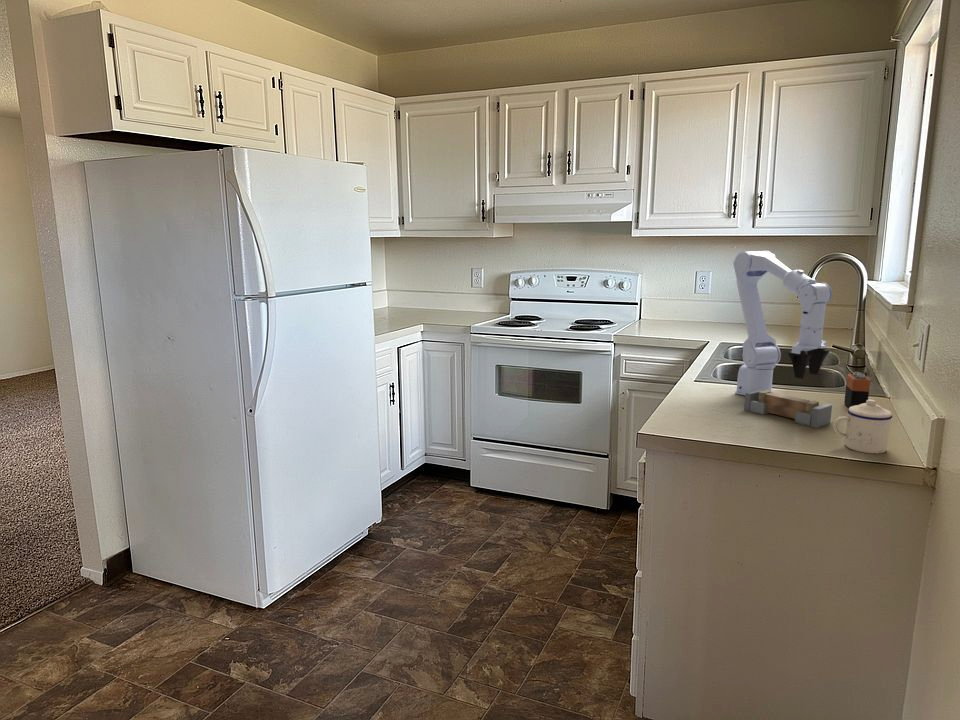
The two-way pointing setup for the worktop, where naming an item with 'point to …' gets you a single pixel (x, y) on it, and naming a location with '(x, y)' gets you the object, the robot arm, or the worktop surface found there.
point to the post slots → (816, 419)
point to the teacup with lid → (866, 427)
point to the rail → (785, 404)
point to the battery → (856, 389)
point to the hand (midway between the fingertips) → (806, 375)
